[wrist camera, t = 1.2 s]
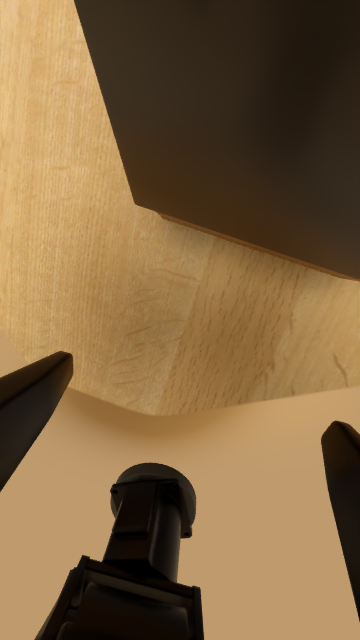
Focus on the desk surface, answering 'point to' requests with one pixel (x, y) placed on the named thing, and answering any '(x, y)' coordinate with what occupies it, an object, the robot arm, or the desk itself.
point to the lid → (239, 116)
